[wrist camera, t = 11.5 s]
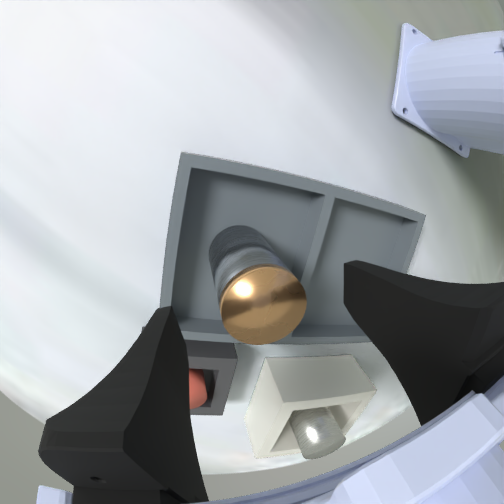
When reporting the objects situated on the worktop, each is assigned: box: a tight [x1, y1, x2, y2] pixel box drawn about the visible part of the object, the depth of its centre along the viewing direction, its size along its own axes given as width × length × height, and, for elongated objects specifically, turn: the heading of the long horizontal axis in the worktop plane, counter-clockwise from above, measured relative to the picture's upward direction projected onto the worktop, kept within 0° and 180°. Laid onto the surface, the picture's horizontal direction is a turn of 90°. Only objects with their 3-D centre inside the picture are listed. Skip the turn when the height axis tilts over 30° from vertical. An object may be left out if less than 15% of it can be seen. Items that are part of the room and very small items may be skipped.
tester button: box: [189, 368, 207, 409], centre depth 17 cm, size 3×3×2 cm
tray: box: [160, 152, 426, 344], centre depth 17 cm, size 16×10×2 cm, turn 77°
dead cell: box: [288, 406, 346, 459], centre depth 19 cm, size 3×3×6 cm
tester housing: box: [142, 327, 238, 415], centre depth 18 cm, size 6×6×2 cm
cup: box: [244, 355, 377, 459], centre depth 21 cm, size 8×8×5 cm
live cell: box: [209, 225, 307, 345], centre depth 14 cm, size 3×3×6 cm
